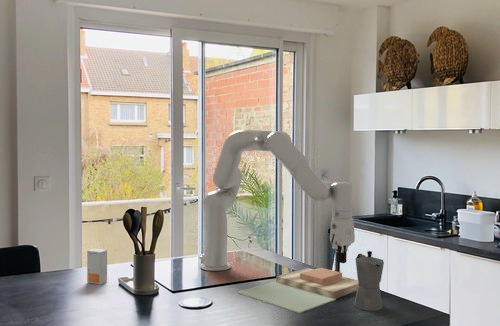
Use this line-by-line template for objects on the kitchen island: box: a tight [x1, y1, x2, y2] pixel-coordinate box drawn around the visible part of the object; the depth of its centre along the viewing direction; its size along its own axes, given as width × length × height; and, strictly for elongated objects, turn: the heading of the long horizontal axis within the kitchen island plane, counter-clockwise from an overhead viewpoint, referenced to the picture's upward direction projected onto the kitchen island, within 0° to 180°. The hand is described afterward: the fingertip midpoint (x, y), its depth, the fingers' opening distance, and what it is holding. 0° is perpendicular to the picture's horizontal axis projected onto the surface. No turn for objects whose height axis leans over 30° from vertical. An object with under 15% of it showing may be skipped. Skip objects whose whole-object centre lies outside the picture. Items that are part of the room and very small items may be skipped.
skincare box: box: [86, 248, 108, 286], centre depth 191 cm, size 6×4×12 cm
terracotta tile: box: [300, 267, 343, 284], centre depth 191 cm, size 10×12×2 cm
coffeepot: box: [354, 250, 385, 312], centre depth 169 cm, size 15×9×18 cm, turn 13°
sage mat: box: [236, 280, 337, 314], centre depth 177 cm, size 28×19×1 cm
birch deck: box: [275, 267, 358, 300], centre depth 190 cm, size 26×18×2 cm
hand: (341, 262), depth 199 cm, fingers closed
